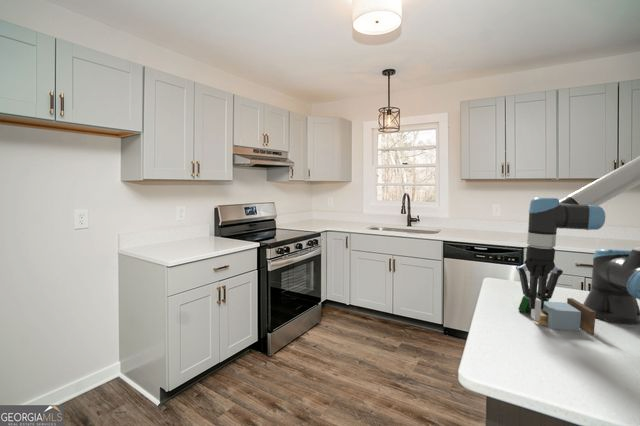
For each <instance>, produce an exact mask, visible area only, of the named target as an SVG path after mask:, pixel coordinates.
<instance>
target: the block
mask: <svg viewBox="0 0 640 426" xmlns="http://www.w3.org/2000/svg"><path fill="white" fill-rule="evenodd" d="M540 312H542V313H548V314H549V315H548V325H547V327H548V328H550V329H551V330H562V331H573V332H574V331H575V332H576V331H577V332H580V331H581V329H580V320H581V312H580V311H579V310H577V309H576V308H574V307H572V306H571V305H569V304H568V303H567V302H561V301H560V302H559V301H548V302H547V301H544V308H543V310H542V309H541V311H540Z"/></svg>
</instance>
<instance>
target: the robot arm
mask: <svg viewBox="0 0 640 426" xmlns="http://www.w3.org/2000/svg"><path fill="white" fill-rule="evenodd" d="M639 185H640V155H639V156H638V157H636V158H634V159H632V160H630V161H629V162H627V163H625V164H623V165H621V166H620V167H618V168H616V169H614V170H612V171H611V172H608V173H607V174H605V175H603V176H601V177H600V178H598V179H596V180H594V181H593V182H591V183H588V184H587V185H585V186H583V187H581V188H580V189H578V190H576V191H574V192H573V193H570V194H568V195H567V196H566V197H563V198H561V199H560V200H559V199H558V198H556V197H533V198H531V200H530V203H529V209H528V229H527V241H526V244H527V246H526V252H525V253H526V254H525V257H526V258H525V260H524V262H523V264H522V265H517V266H516V267H515V269H516V271H517V273H518V275H519V279H520V280H519V281H520V285H521V289H522V290H521V291H522V294H523V296H526V297H529V307H530V308H531V311H530V317H531V318H532V319H533V320H534V321H535V320H540V311H541V309H542V310H543V308H544V301H546V299H548V298H549V300H550V299H552V297H553V295H554V291H555V289H556V286H557V283H558V280H559V278H560V276H561V275H562V274H563V271H564V270H562V269H560V268H558V267H557V266H556V264H555V255H556V249H555V247H556V245H557V244H556V243H557V233H558V232H557V231H558V229H562V230H563V229H565V230H566V229H567V230H568V229H569V230H587V231H589V230H590V231H593V230H595V231H596V230H601V228H602V227H604V224H605V222H606V212H605V210H604V208H602V206H600V205H602V204H604V203H606V202H608V201H610V200H612V199H614V198H616V197H618V196H619V195H621V194H624V193H625V192H627V191H629V190H630V189H633V188H634V187H636V186H639ZM592 260H593V261H592V273H591V284H590V285H591V286H590V291H589V293H588V294H587V296H586V298H585V299H584V302H583V303H582V304H583V305H585V306H587V307H588V308H590V309H592V310H593V311H595V312H596V317H595V319H596V318H597V319H600V320H604V321H607V322H611V323H616V324H624V325H636V324H640V307H639V303H638V301H637V300H640V246H637V247H633V248H632V249H631V250H630V249H629V250H628V249H616V248H615V249H613V248H612V249H611V248H598V249H596V250H595V251H594V253H593V258H592ZM527 270H528V272H529V281H528V276H527V274H526V272H527ZM549 274H550V275H549ZM548 276H549V278H548ZM537 292H538V298H536V296H537Z"/></svg>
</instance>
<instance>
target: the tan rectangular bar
mask: <svg viewBox="0 0 640 426" xmlns="http://www.w3.org/2000/svg"><path fill="white" fill-rule="evenodd" d="M548 315H549V314H548V313H542V312H540V320H534V321H535V322H536V323H537V324H538V325H540V326H541V325H542V326H548Z"/></svg>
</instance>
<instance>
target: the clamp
mask: <svg viewBox="0 0 640 426" xmlns="http://www.w3.org/2000/svg"><path fill="white" fill-rule="evenodd" d="M536 298H538V291H537V296H536ZM546 301H547V302H550V299H549V298H548V299H546ZM527 310H528V311H530V312H531V308H530V307H529V297H526V296H525V295H523V296H522V298H521V300H520V304H519V306H518V311H520V312H522V313H527V312H528V311H527Z"/></svg>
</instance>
